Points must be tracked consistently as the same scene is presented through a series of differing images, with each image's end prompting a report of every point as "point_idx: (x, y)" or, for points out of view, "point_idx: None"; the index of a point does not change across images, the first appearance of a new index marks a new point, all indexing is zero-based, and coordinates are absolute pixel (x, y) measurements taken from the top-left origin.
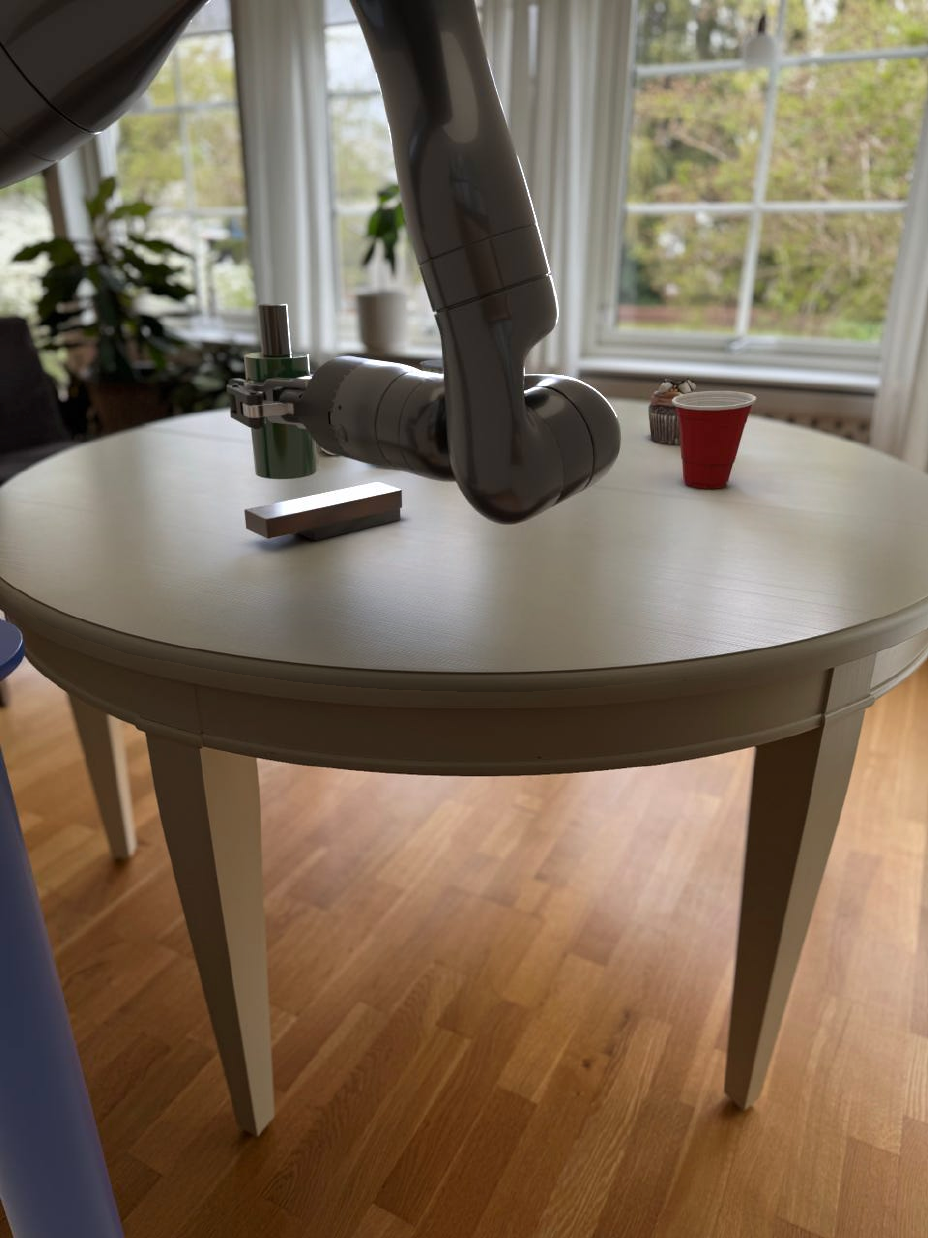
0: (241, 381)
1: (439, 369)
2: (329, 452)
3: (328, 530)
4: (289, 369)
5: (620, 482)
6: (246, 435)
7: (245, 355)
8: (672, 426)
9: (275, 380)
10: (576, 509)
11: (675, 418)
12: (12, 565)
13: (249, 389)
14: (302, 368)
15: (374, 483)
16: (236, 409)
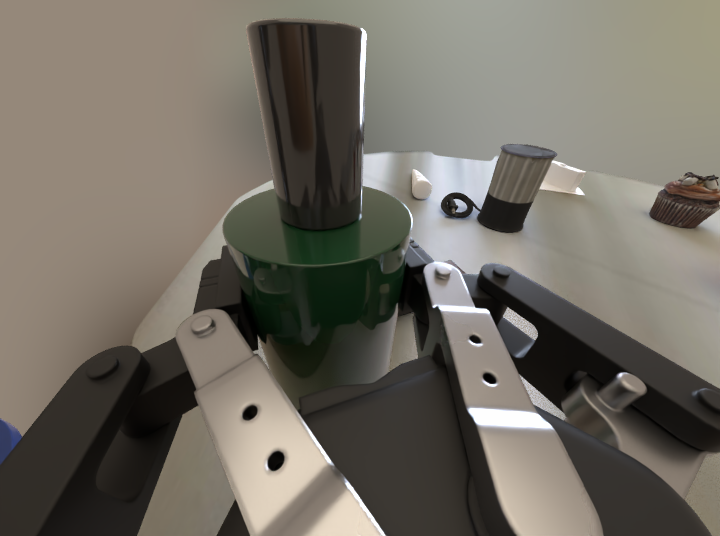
0: (218, 278)
1: (519, 156)
2: (417, 197)
3: (399, 311)
4: (331, 297)
5: (657, 276)
6: (374, 173)
7: (241, 204)
8: (683, 213)
9: (212, 434)
10: (635, 319)
11: (690, 208)
12: (162, 297)
13: (37, 515)
14: (379, 283)
15: (447, 262)
16: (123, 432)
